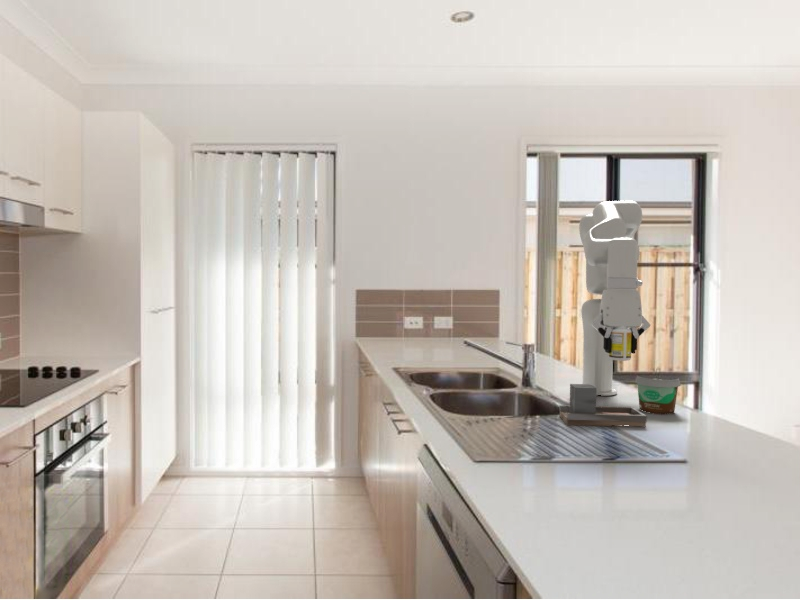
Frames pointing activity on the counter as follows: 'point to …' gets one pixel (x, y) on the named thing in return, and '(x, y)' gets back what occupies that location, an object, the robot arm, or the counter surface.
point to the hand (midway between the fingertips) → (619, 352)
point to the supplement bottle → (620, 343)
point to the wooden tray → (596, 410)
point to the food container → (657, 395)
